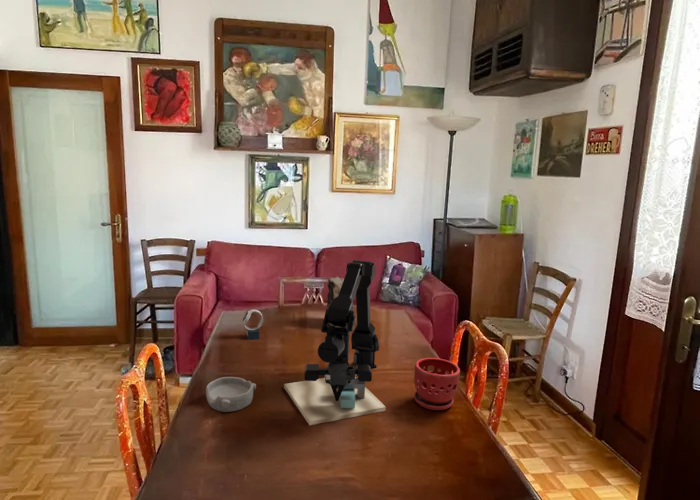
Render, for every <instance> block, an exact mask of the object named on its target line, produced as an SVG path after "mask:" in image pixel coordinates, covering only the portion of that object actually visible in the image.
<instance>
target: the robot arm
mask: <svg viewBox="0 0 700 500" xmlns="http://www.w3.org/2000/svg"><path fill="white" fill-rule="evenodd" d="M376 271H377V265H376V264H375V263H374V262H373V261H370V260H369V261H368V260H359V259H358V260H356V259H353V260H352V262H351V261H350V262H347V263H346V270H345V275H344V278H343V280H342V282H343V283H342V286H341V289H340V292H339V294H338V297H336V298H335V299H333V300H332V301H331V303H330V305H329V307H328V308H327V307H326V310H325V314H324V318H323V322H322V327H321V330H320V332H321V333H323V334H324V333H325V334H326V336H325V337H324V340H323V341H322V342H321V343H319V346H318V348H317V355H318V357H319V359H320V360H322V362H324V363H327V366H328V367H326V368H320V365H319V363H307V364H306V365H305V366H304V381H316V380H317V379H320V378H319V376H324V378H325V383H328V384H330V386H331V388H332V390H333V393H334V397H335V400H336V401H338V400H339V398H340V395H341V393H342V390H343V388H344V387H345V385H347V384H350V383H351V380H352V379H355V377H357V378H358V379H359V380H360V381H361V382H365V383H366V382H367V383H368V382H371V381H372V379H373V374H372V369H375V368H377V365H376V363H375V361H376V358H375V357H376V352H378V351H380V340H379V337H378V335H377V332H376V327H375V326H374V325H373V323H372V322H371V321H372V320H371V288H370V287H371V284H372V282H373V280H374V279H375V276H376V274H377V273H376ZM354 301H355V304H356V311H355V309H354ZM355 312H356V313H355ZM355 319H356V322H355ZM328 323H329V324H328ZM354 323H356V325H355V327H354ZM328 325H333V326H336V327H331V326H328ZM350 335H351V337H350ZM350 340H351V350H354V352H353V360H352V365H350V364H349V363H350V362H349V359H350V357H349V356H350V353H349V352H350ZM336 385H338V389H337V387H336Z"/></svg>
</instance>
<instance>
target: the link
mask: <svg viewBox="0 0 700 500" xmlns="http://www.w3.org/2000/svg"><path fill="white" fill-rule="evenodd" d="M341 408H355V391H354V389H343V390H342V393H341Z"/></svg>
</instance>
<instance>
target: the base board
mask: <svg viewBox="0 0 700 500" xmlns="http://www.w3.org/2000/svg"><path fill="white" fill-rule="evenodd" d="M355 378H357V376H355ZM283 388H284V390H285V391H286V392H287V394H288V395H289V397H290V399H291V401H292V402H293V404H294V405H295V406H296V408H297V409H298V410H299V412H300V413H301V415H302V417H303V418H304V419H305V421H306V423H308V426H314V425H319V424H325V423H329V422H334V421H340V420H345V419H350V418H354V417H360V416H366V415H370V414H377V413H381V412H386V410H387V409H386V408H387V407H386V405H384V404H383V402H382V401H380V400H379V399H378V398H377V397H376V396H375V395H374V394H373V393H372V392H371V391H370V390H369V389H368V388H367V387H366V386H365V398H364V399H358V397H357V389H354V391H355V408H341V395H340V398H339V400H338V401H336V400H335V397H334V393H333V390H332V388H331V386H330V384H328V383H325V377H322V378H321V377H320V378H319V379H317V380H316V381H306V380H303V381H302V380H301V381H295V382H289V383H287V382H286V383H284V384H283Z"/></svg>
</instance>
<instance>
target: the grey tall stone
mask: <svg viewBox="0 0 700 500" xmlns="http://www.w3.org/2000/svg"><path fill="white" fill-rule="evenodd" d="M327 282H328V284H327V287H328V288H327V289H328V292H327V295H326V296H327V302H326V303H327V304H326V309H327V308H328V307H329V305H330V303H331V301H332V300H333V299H335V298H336V297H338V294H339V292H340V289H341V286H342V283H343V280H341V278H340V277H339V276H338V275H336V276H335V277H330V278H328V280H327ZM356 325H357V318H356V319H355V323H354V326H355V327H356ZM327 326H331V327H336V326H333V325H329V323H328V325H327Z"/></svg>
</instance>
